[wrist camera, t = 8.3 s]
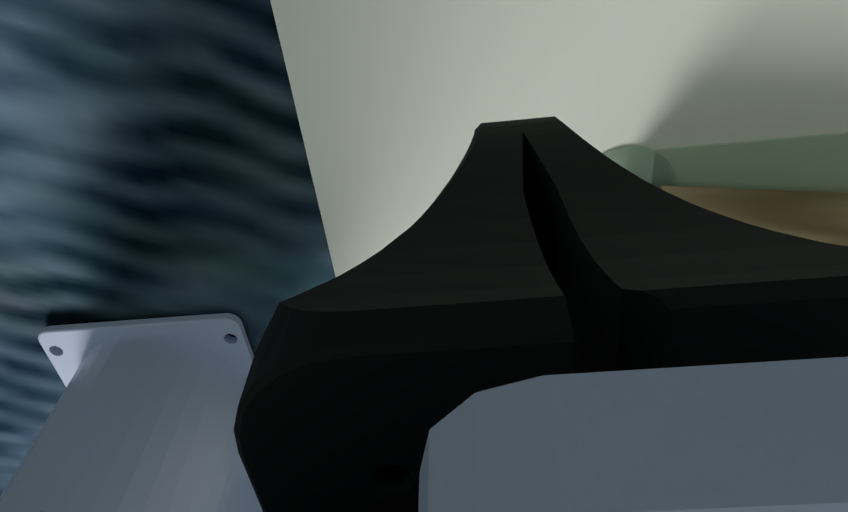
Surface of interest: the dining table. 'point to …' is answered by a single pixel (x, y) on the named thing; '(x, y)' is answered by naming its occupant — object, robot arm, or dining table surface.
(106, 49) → the dining table surface
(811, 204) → the folding fence panel
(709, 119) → the card
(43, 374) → the dining table surface
